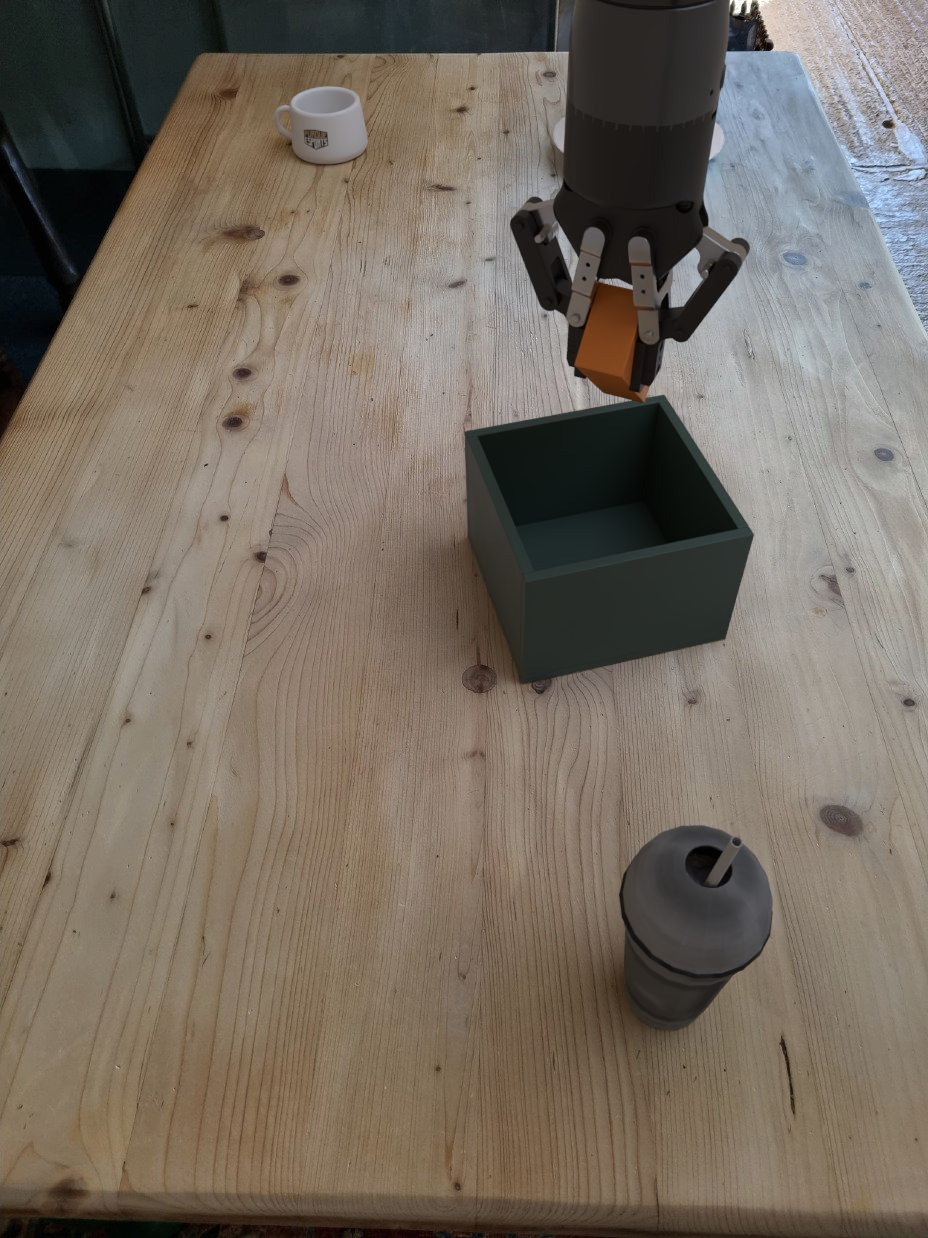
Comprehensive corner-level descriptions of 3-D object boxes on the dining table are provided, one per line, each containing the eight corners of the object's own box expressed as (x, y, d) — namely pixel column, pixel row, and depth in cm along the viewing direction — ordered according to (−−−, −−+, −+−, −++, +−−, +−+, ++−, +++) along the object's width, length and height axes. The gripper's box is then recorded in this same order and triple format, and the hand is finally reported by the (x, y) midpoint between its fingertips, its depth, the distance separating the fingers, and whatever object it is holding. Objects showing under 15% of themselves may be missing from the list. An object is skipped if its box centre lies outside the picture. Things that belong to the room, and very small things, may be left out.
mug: (378, 135, 129) (373, 86, 124) (355, 169, 123) (349, 119, 118) (291, 128, 131) (284, 79, 126) (264, 161, 125) (256, 111, 120)
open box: (725, 639, 73) (754, 534, 65) (522, 684, 71) (525, 582, 62) (648, 499, 83) (664, 393, 74) (467, 536, 80) (464, 430, 72)
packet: (667, 329, 66) (647, 292, 57) (644, 403, 66) (621, 377, 58) (624, 319, 66) (598, 281, 58) (602, 392, 67) (573, 365, 59)
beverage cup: (704, 919, 59) (777, 730, 44) (748, 1044, 54) (847, 881, 39) (586, 940, 58) (618, 756, 43) (619, 1069, 54) (668, 913, 38)
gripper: (482, 93, 49) (485, 384, 62) (765, 141, 45) (704, 442, 58) (540, 39, 53) (531, 322, 66) (803, 78, 49) (738, 371, 62)
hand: (612, 376), depth 62 cm, fingers closed on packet, 3 cm apart
